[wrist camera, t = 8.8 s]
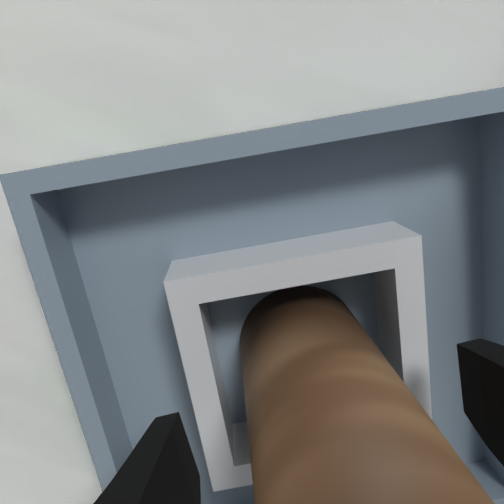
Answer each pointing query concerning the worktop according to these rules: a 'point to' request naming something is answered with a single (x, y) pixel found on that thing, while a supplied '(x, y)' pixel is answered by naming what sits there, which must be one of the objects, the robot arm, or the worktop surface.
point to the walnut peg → (337, 413)
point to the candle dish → (268, 267)
